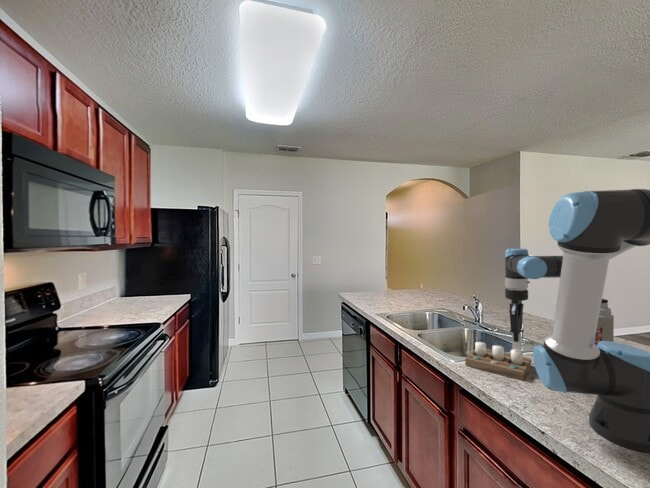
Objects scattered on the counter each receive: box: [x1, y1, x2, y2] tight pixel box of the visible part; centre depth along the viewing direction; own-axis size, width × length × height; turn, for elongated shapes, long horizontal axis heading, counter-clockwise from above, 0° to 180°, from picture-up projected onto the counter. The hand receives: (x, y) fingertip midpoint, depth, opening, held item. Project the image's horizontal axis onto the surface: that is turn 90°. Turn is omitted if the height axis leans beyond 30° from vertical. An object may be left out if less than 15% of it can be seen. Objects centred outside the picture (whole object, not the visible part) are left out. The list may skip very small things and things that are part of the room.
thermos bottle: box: [594, 298, 615, 346], centre depth 114 cm, size 8×8×28 cm
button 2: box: [491, 344, 505, 361], centre depth 123 cm, size 4×4×5 cm
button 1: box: [510, 349, 524, 366], centre depth 119 cm, size 4×4×5 cm
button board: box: [464, 348, 532, 381], centre depth 123 cm, size 16×20×3 cm
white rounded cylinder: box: [474, 341, 487, 357], centre depth 127 cm, size 4×4×5 cm
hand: (516, 348), depth 119 cm, fingers closed
